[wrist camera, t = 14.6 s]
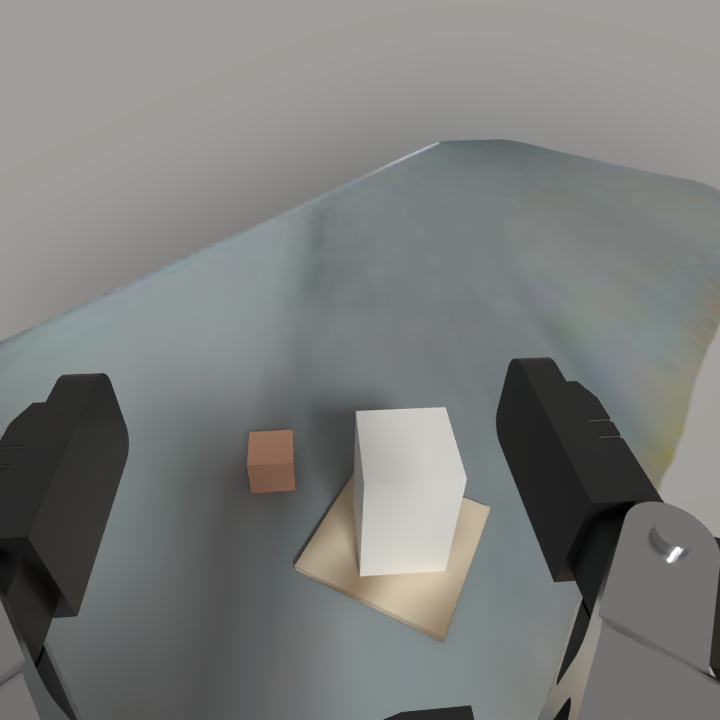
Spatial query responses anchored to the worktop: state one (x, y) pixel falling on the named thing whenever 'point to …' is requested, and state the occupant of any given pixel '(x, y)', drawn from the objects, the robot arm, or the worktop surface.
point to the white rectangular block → (405, 490)
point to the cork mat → (394, 591)
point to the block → (271, 461)
